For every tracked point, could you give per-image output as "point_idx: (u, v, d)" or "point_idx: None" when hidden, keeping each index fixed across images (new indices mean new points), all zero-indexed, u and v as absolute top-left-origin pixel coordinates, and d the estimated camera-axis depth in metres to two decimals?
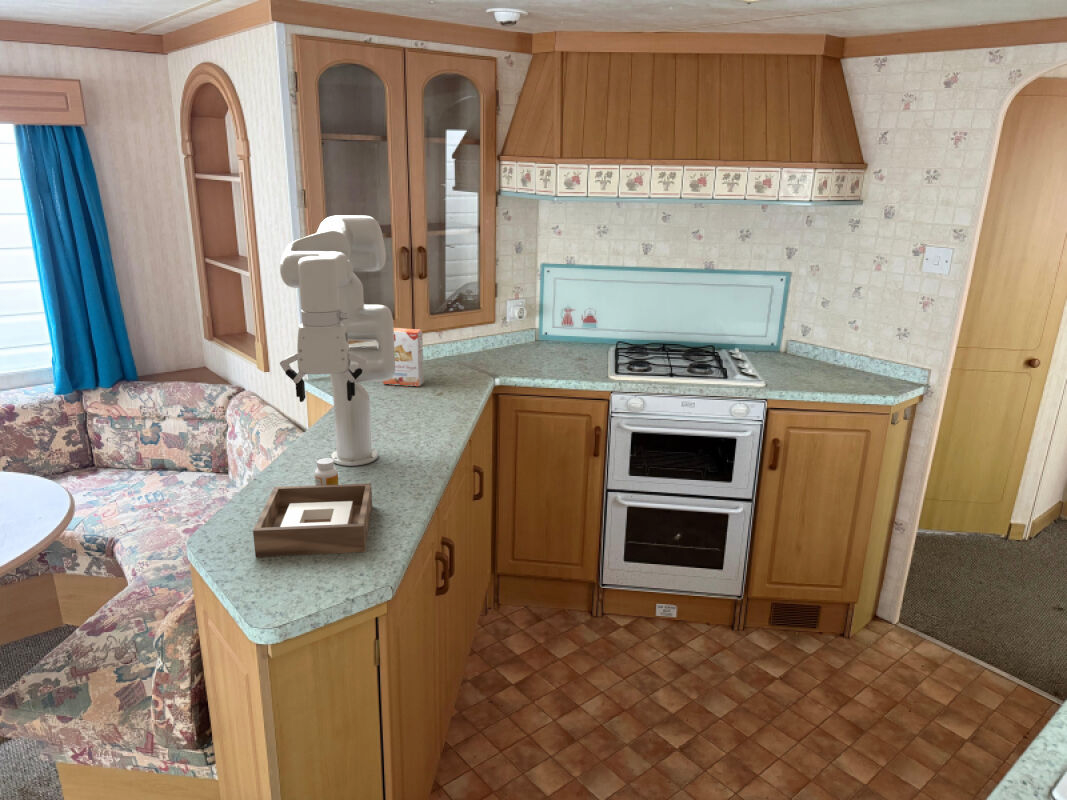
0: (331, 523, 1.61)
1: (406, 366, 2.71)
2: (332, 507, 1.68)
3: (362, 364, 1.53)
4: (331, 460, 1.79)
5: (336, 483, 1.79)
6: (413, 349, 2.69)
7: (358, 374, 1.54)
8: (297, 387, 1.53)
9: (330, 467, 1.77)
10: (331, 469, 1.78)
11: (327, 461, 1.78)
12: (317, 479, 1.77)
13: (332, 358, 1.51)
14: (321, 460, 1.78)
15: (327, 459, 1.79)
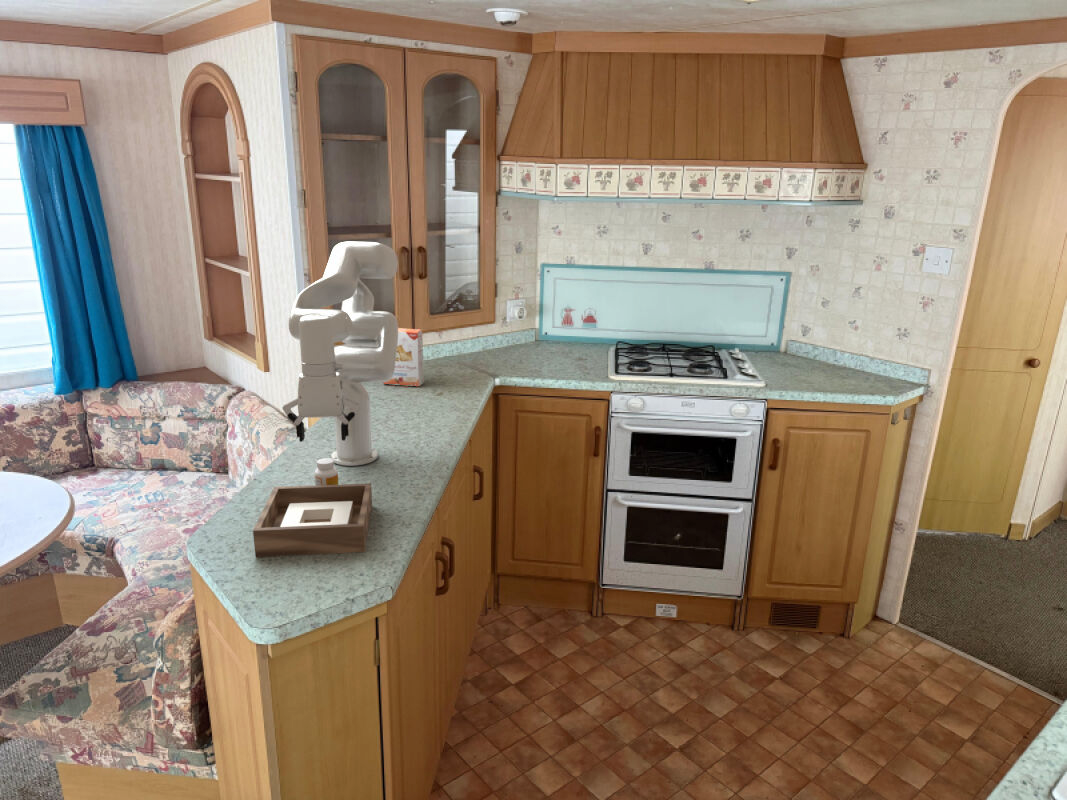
0: (331, 523, 1.61)
1: (406, 366, 2.71)
2: (332, 507, 1.68)
3: (355, 408, 1.74)
4: (331, 460, 1.79)
5: (336, 483, 1.79)
6: (413, 349, 2.69)
7: (351, 417, 1.75)
8: (297, 428, 1.74)
9: (330, 467, 1.77)
10: (331, 469, 1.78)
11: (327, 461, 1.78)
12: (317, 479, 1.77)
13: (328, 403, 1.71)
14: (321, 460, 1.78)
15: (327, 459, 1.79)
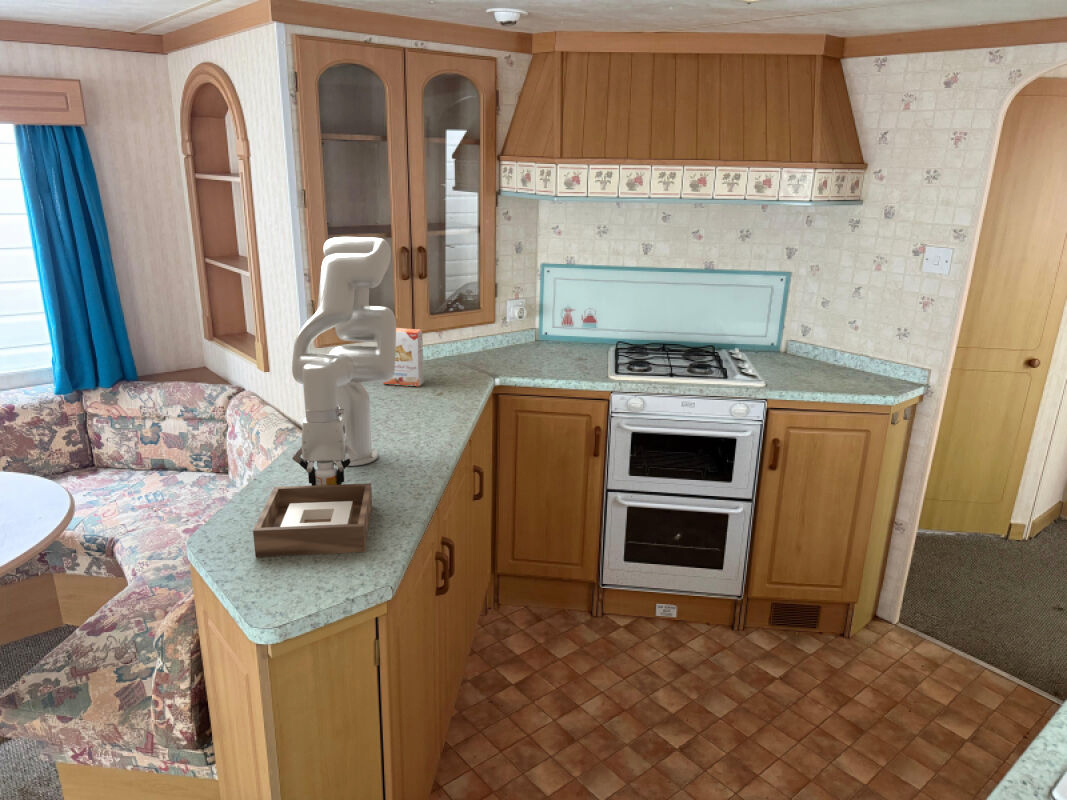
0: (331, 523, 1.61)
1: (406, 366, 2.71)
2: (332, 507, 1.68)
3: (352, 457, 1.78)
4: None
5: (336, 483, 1.79)
6: (413, 349, 2.69)
7: (347, 464, 1.78)
8: (309, 475, 1.78)
9: (330, 467, 1.77)
10: (331, 469, 1.78)
11: (327, 461, 1.78)
12: (317, 479, 1.77)
13: (331, 448, 1.75)
14: None
15: None
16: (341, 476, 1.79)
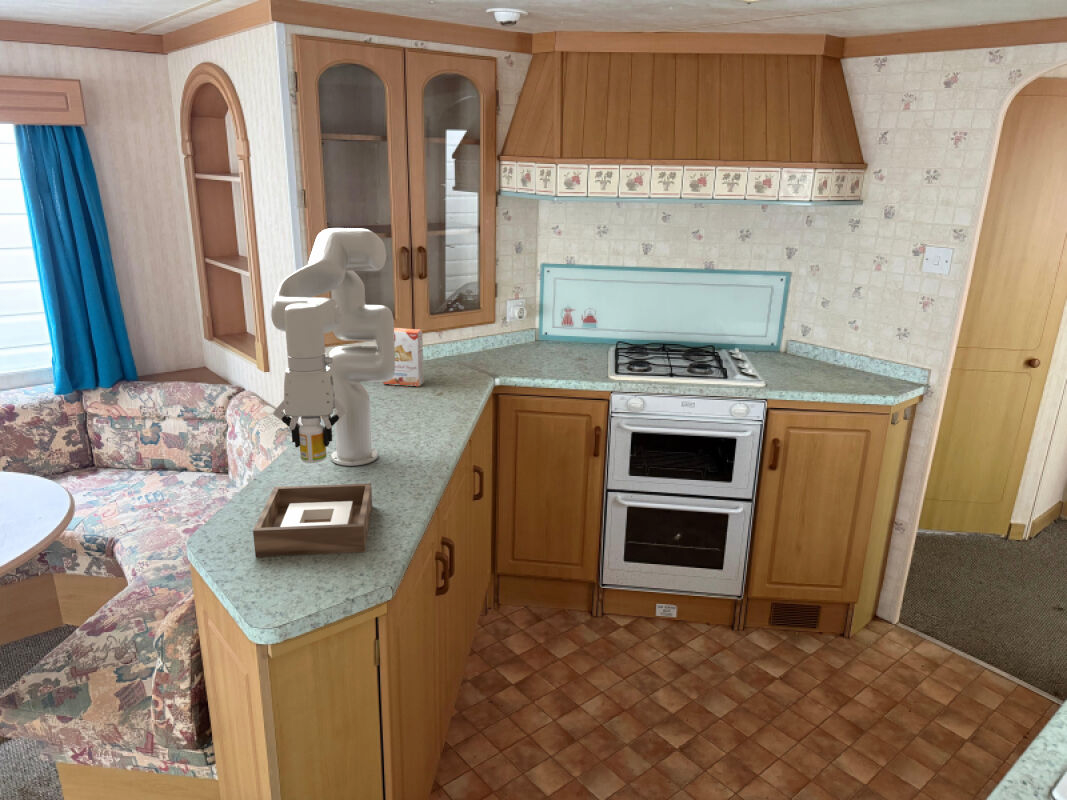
0: (331, 523, 1.61)
1: (406, 366, 2.71)
2: (332, 507, 1.68)
3: (341, 413, 1.59)
4: (317, 416, 1.59)
5: (323, 442, 1.59)
6: (413, 349, 2.69)
7: (335, 421, 1.59)
8: (293, 433, 1.58)
9: (316, 423, 1.58)
10: (317, 426, 1.58)
11: (313, 417, 1.58)
12: (302, 436, 1.57)
13: (317, 401, 1.55)
14: None
15: None
16: (328, 434, 1.59)
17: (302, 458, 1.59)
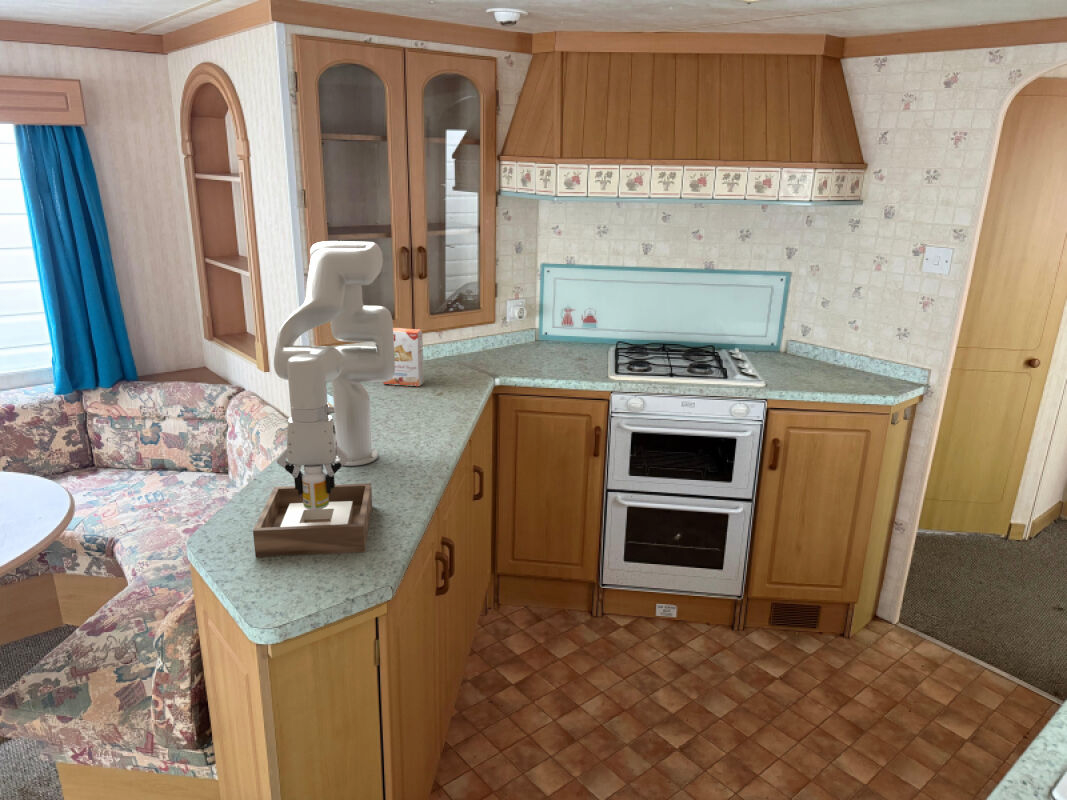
0: (331, 523, 1.61)
1: (406, 366, 2.71)
2: (332, 507, 1.68)
3: (343, 460, 1.61)
4: None
5: (325, 489, 1.61)
6: (413, 349, 2.69)
7: (337, 468, 1.61)
8: (296, 481, 1.60)
9: (319, 471, 1.60)
10: (320, 473, 1.60)
11: (315, 465, 1.60)
12: (305, 484, 1.59)
13: (320, 450, 1.57)
14: None
15: None
16: (331, 481, 1.61)
17: (305, 505, 1.61)
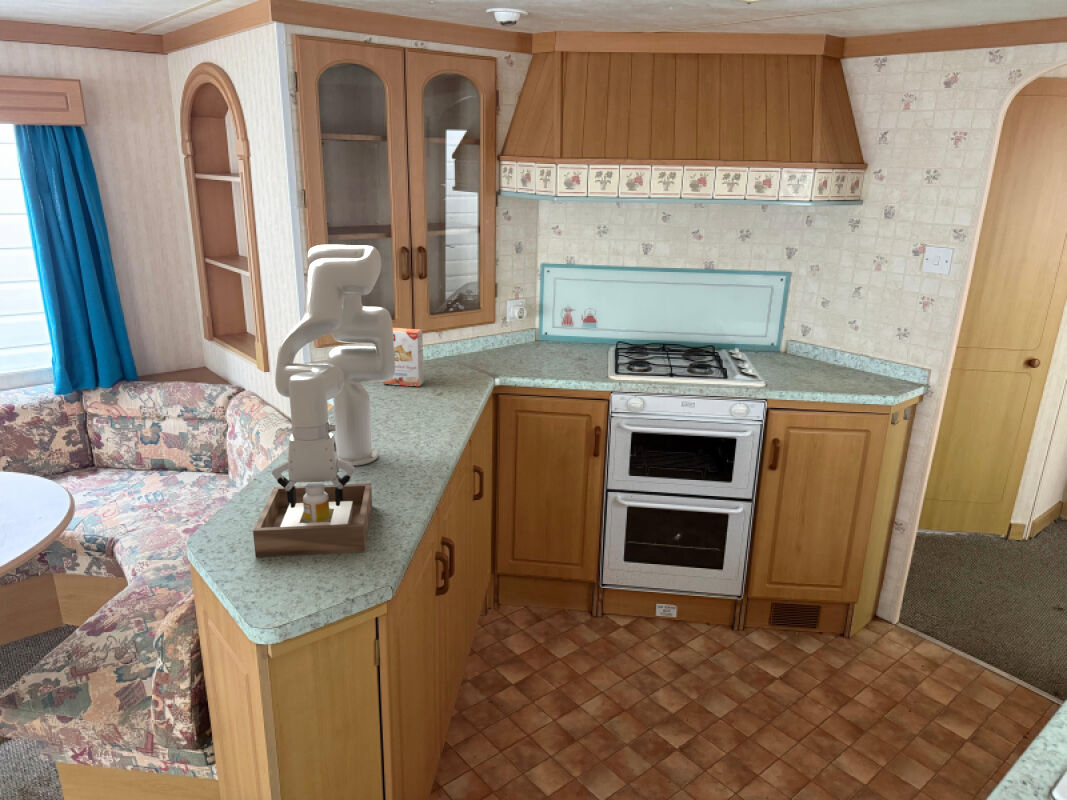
0: (331, 523, 1.61)
1: (406, 366, 2.71)
2: (332, 507, 1.68)
3: (350, 472, 1.61)
4: (321, 484, 1.62)
5: (327, 509, 1.63)
6: (413, 349, 2.69)
7: (346, 481, 1.62)
8: (288, 494, 1.61)
9: (320, 492, 1.61)
10: (321, 494, 1.62)
11: (317, 485, 1.62)
12: (306, 505, 1.61)
13: (321, 468, 1.58)
14: (310, 484, 1.62)
15: (317, 483, 1.63)
16: (340, 494, 1.62)
17: None
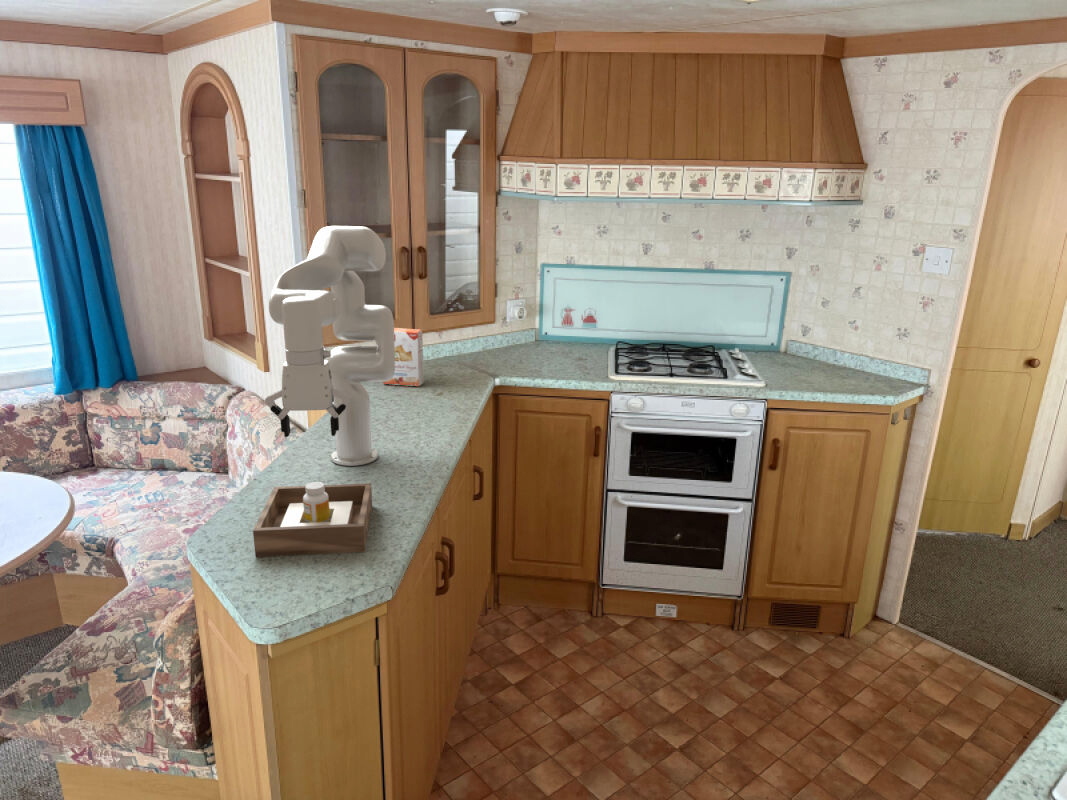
0: (331, 523, 1.61)
1: (406, 366, 2.71)
2: (332, 507, 1.68)
3: (345, 400, 1.57)
4: (321, 484, 1.62)
5: (327, 509, 1.63)
6: (413, 349, 2.69)
7: (341, 410, 1.58)
8: (282, 423, 1.57)
9: (320, 492, 1.61)
10: (321, 494, 1.62)
11: (317, 485, 1.62)
12: (306, 505, 1.61)
13: (316, 395, 1.54)
14: (310, 484, 1.62)
15: (317, 483, 1.63)
16: (335, 423, 1.58)
17: None
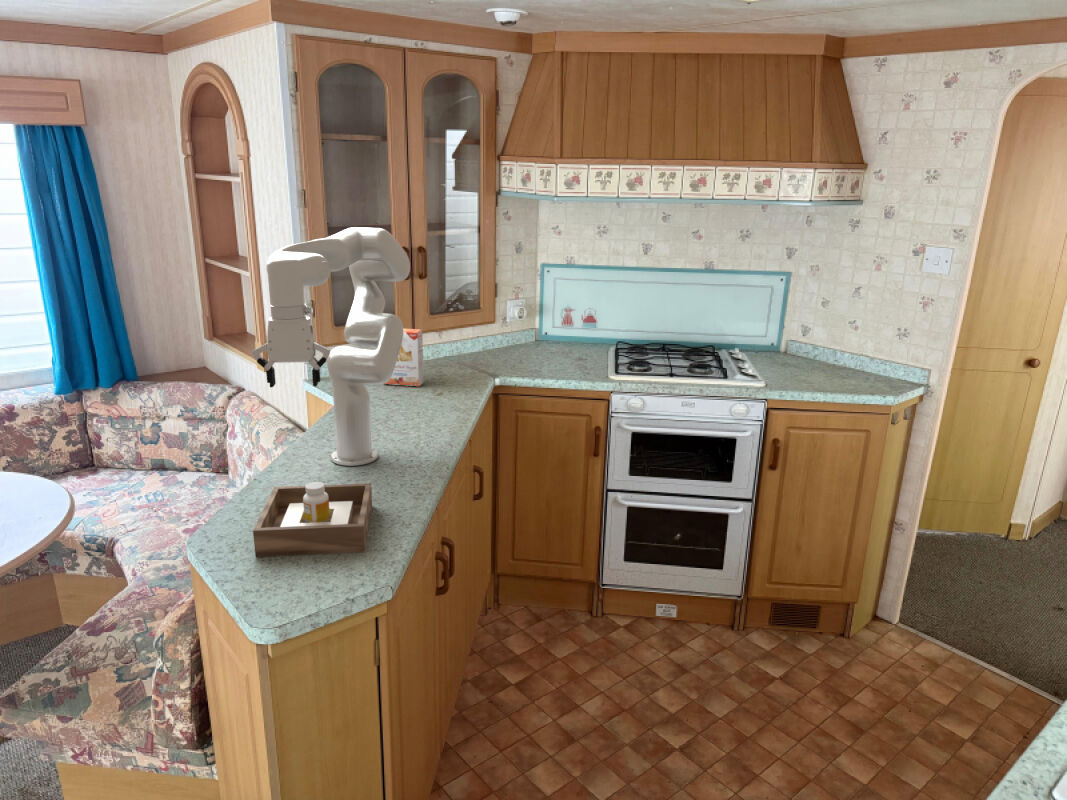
0: (331, 523, 1.61)
1: (406, 366, 2.71)
2: (332, 507, 1.68)
3: (326, 353, 1.71)
4: (321, 484, 1.62)
5: (327, 509, 1.63)
6: (413, 349, 2.69)
7: (322, 362, 1.71)
8: (267, 374, 1.71)
9: (320, 492, 1.61)
10: (321, 494, 1.62)
11: (317, 486, 1.62)
12: (306, 505, 1.61)
13: (298, 348, 1.68)
14: (310, 484, 1.62)
15: (317, 483, 1.63)
16: (317, 375, 1.72)
17: None
